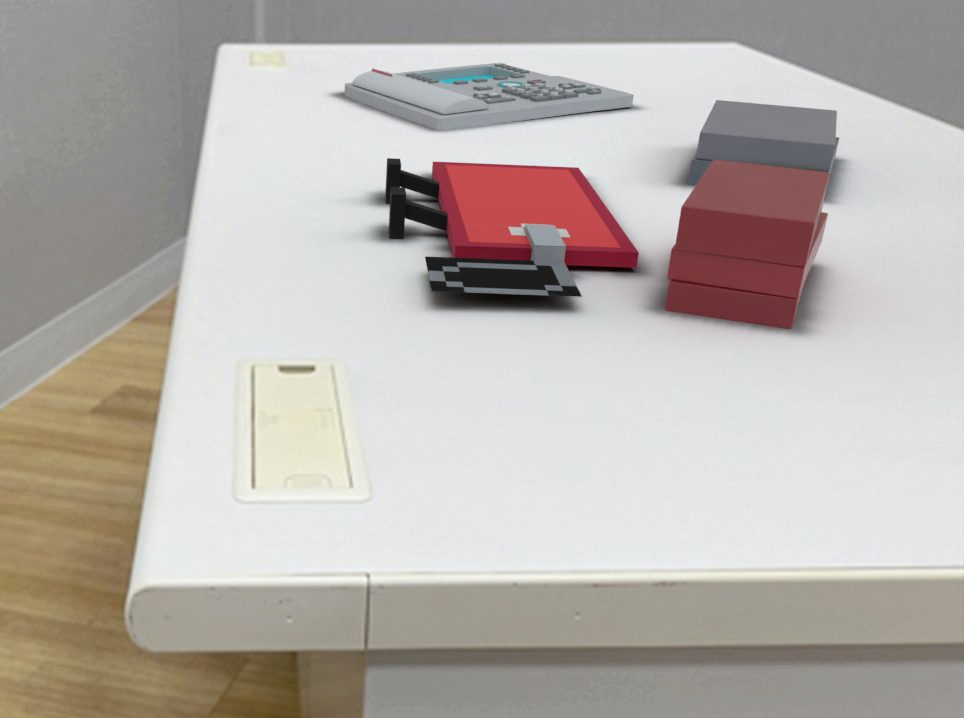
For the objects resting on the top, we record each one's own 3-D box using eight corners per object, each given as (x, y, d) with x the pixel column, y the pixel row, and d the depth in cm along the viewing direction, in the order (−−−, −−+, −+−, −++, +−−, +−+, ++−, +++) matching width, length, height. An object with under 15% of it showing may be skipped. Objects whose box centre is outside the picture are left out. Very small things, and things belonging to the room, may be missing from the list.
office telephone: (441, 103, 105) (323, 65, 119) (439, 134, 107) (323, 93, 120) (637, 79, 116) (507, 48, 130) (633, 108, 117) (506, 74, 131)
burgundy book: (805, 267, 65) (815, 222, 63) (674, 249, 67) (681, 205, 65) (821, 212, 74) (830, 172, 73) (706, 198, 76) (713, 159, 75)
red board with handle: (396, 306, 67) (662, 316, 68) (399, 256, 66) (670, 266, 66) (383, 178, 93) (576, 186, 93) (384, 140, 91) (580, 148, 92)
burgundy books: (798, 332, 66) (813, 268, 64) (660, 311, 69) (670, 249, 67) (815, 269, 76) (828, 211, 74) (694, 252, 78) (703, 196, 76)
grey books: (822, 202, 90) (834, 146, 88) (681, 185, 93) (690, 131, 91) (834, 161, 101) (846, 111, 99) (708, 147, 104) (717, 98, 102)
